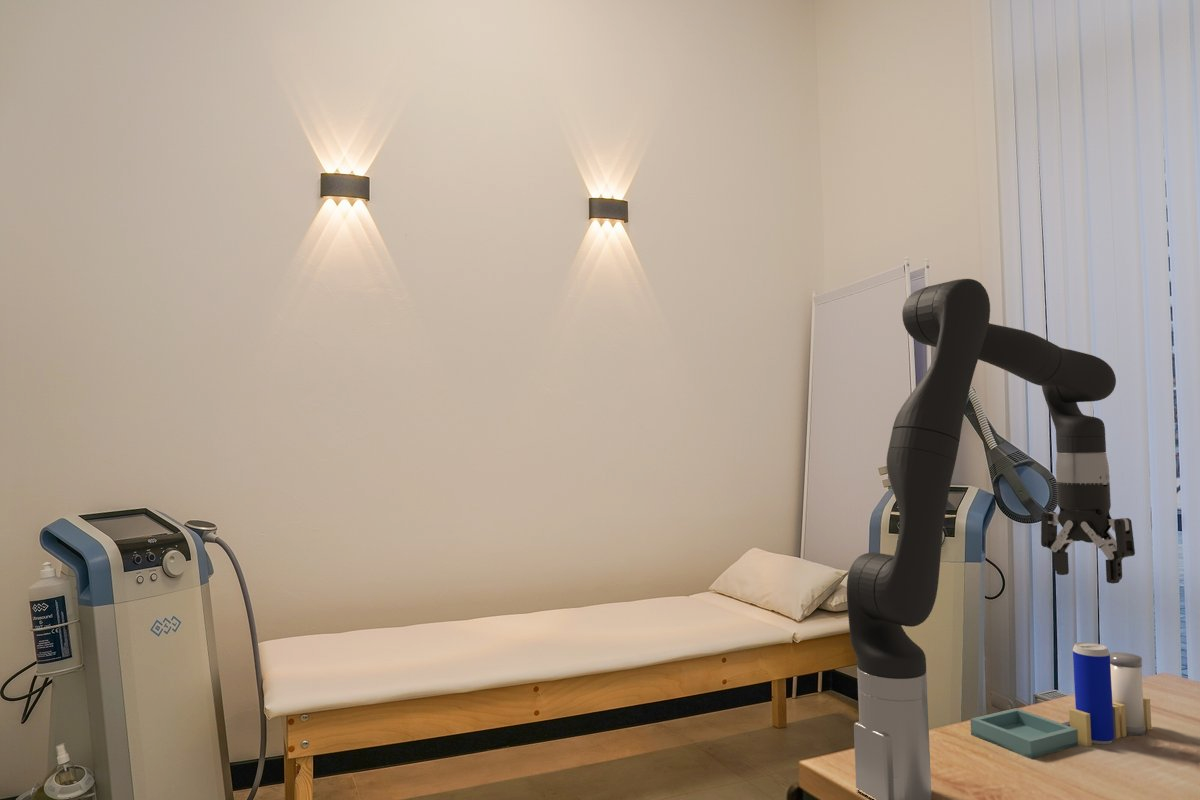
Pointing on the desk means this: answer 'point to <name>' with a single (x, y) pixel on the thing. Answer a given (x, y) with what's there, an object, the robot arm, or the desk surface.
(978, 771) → the desk surface
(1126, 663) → the fuse
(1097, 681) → the beverage can
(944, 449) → the robot arm
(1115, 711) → the fuse block
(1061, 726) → the tray
